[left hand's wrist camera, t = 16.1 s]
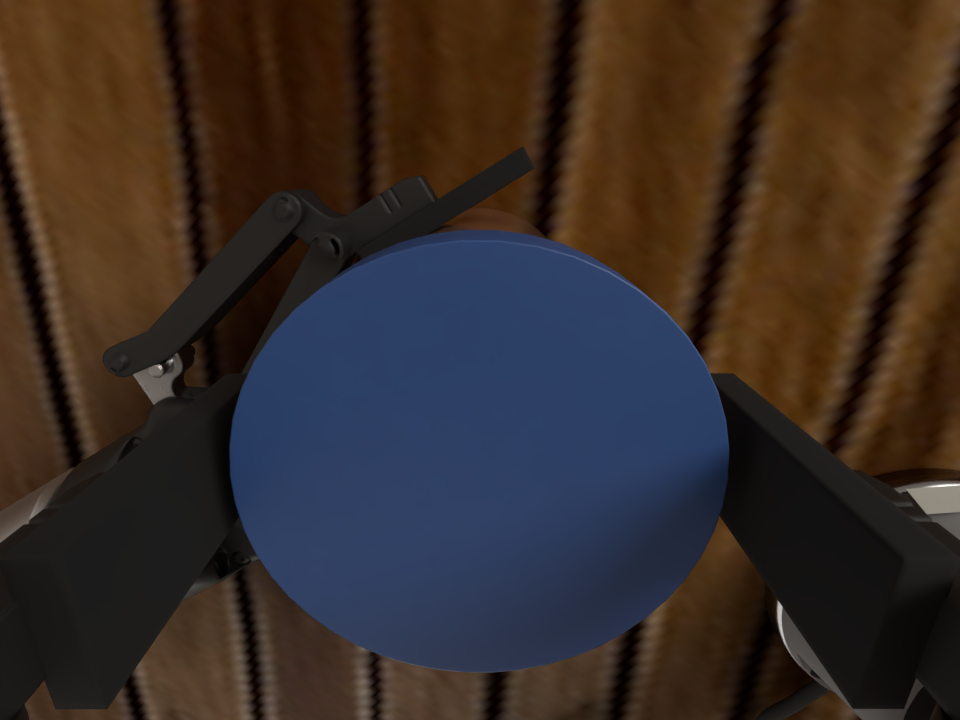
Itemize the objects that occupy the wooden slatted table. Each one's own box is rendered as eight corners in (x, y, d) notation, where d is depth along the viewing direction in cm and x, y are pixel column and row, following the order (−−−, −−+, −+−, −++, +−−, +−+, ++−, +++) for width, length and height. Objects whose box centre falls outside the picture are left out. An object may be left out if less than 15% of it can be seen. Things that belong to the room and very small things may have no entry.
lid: (248, 585, 13) (219, 637, 12) (276, 180, 10) (240, 182, 8) (624, 644, 14) (641, 701, 13) (767, 284, 11) (814, 303, 9)
